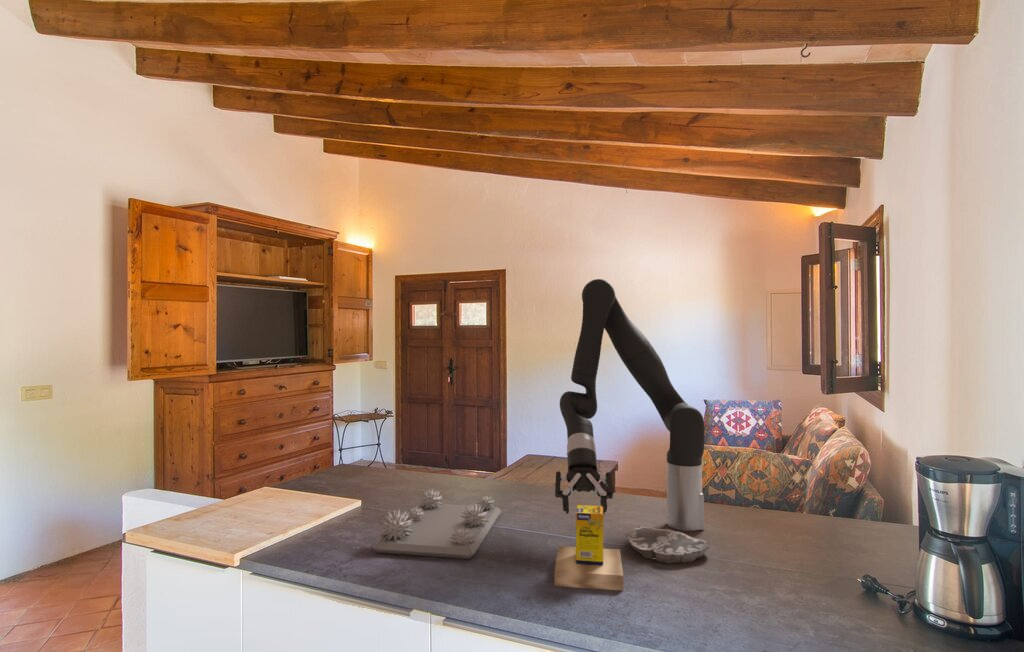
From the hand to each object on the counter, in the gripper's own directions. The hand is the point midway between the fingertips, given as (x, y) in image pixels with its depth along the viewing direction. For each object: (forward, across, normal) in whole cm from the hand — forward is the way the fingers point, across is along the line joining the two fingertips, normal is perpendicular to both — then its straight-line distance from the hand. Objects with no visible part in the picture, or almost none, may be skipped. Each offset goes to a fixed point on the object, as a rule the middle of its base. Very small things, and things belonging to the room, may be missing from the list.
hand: (585, 512), depth 129 cm
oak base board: (+15, 0, -1) cm, 15 cm away
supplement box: (+13, 0, -3) cm, 13 cm away
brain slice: (+6, +19, +8) cm, 22 cm away
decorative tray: (-1, -37, +16) cm, 40 cm away
